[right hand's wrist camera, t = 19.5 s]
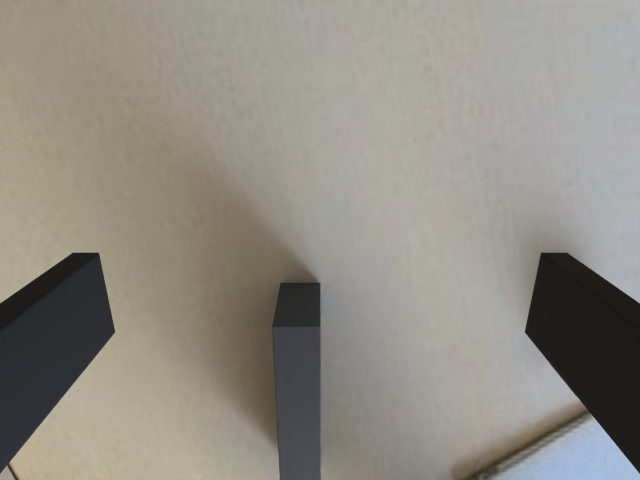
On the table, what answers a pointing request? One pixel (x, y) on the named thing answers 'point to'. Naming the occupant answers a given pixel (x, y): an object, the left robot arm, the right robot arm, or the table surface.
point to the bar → (298, 380)
